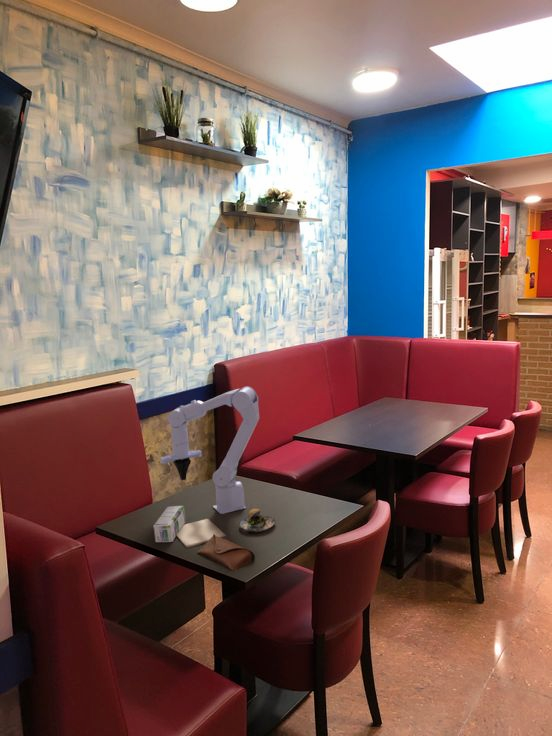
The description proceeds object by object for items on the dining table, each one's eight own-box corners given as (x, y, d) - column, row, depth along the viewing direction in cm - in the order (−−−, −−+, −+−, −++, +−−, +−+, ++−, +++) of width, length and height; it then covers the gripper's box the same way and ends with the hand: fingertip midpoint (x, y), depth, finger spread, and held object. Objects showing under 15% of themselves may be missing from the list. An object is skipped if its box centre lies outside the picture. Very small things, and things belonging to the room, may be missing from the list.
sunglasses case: (193, 552, 173) (200, 530, 175) (209, 556, 178) (217, 534, 180) (233, 571, 161) (241, 547, 162) (250, 575, 166) (257, 551, 167)
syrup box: (186, 521, 194) (173, 542, 180) (169, 521, 195) (155, 543, 181) (183, 505, 193) (170, 525, 179) (166, 506, 194) (152, 526, 180)
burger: (245, 538, 182) (244, 515, 180) (234, 524, 192) (232, 503, 191) (281, 530, 186) (280, 508, 185) (268, 517, 197) (266, 496, 196)
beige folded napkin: (207, 520, 197) (207, 518, 196) (226, 537, 182) (226, 535, 182) (170, 529, 191) (170, 527, 190) (187, 547, 177) (186, 546, 176)
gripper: (195, 436, 212) (198, 472, 214) (156, 443, 206) (159, 480, 208) (202, 440, 206) (205, 477, 208) (162, 447, 199) (166, 486, 201)
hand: (183, 479), depth 207 cm, fingers closed
